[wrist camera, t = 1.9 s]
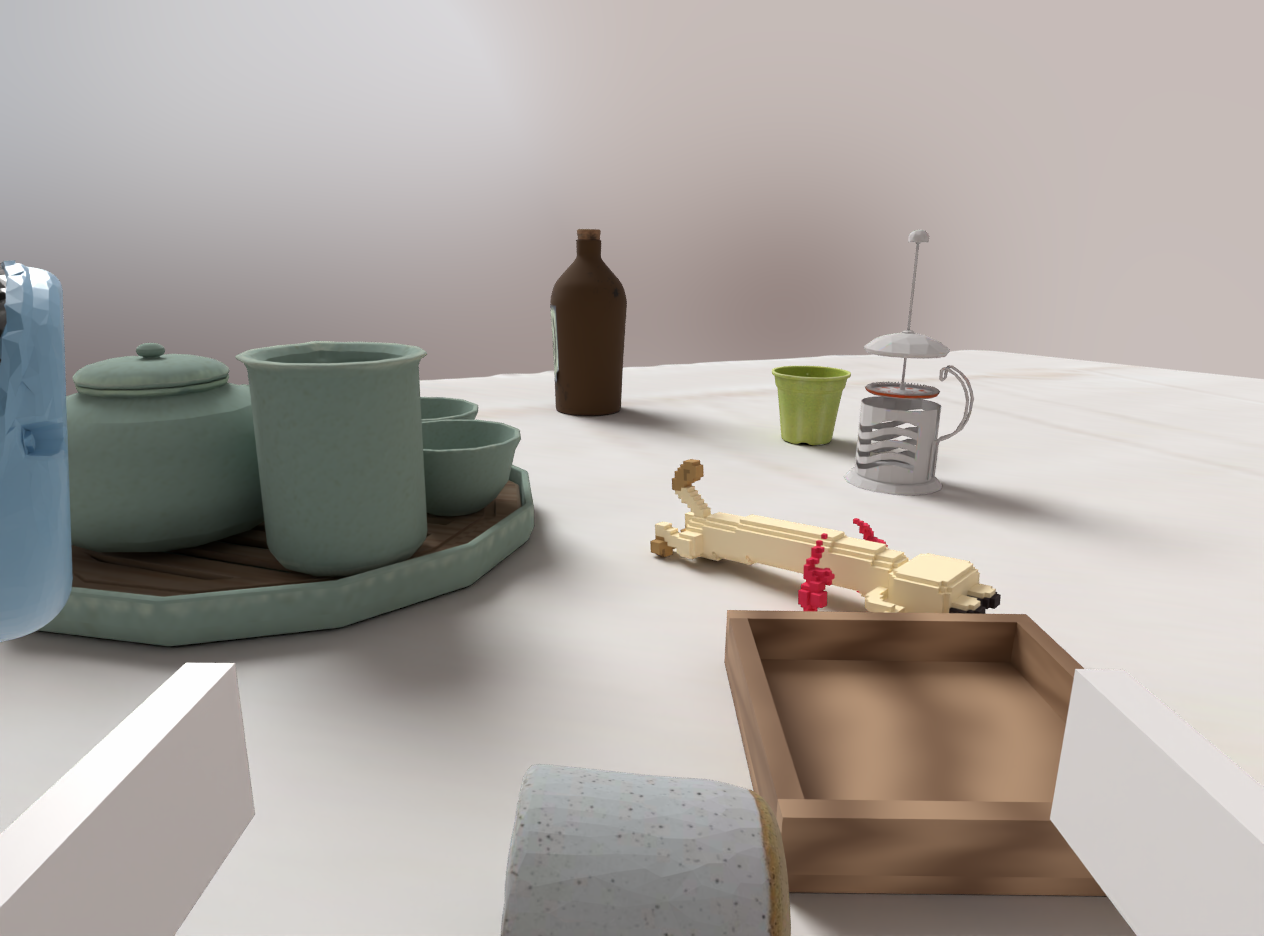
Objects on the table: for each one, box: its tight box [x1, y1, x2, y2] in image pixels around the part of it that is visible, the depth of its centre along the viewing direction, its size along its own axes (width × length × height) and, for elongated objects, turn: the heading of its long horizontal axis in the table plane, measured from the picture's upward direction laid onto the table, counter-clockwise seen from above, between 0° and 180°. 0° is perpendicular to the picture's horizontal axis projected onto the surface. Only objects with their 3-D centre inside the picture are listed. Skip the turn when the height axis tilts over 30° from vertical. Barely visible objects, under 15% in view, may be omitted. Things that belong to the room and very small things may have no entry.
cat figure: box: [650, 459, 1000, 614], centre depth 55 cm, size 10×9×25 cm
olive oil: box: [550, 229, 627, 416], centre depth 112 cm, size 11×11×25 cm
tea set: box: [39, 341, 534, 646], centre depth 63 cm, size 40×40×16 cm
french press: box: [844, 230, 974, 495], centre depth 79 cm, size 10×12×25 cm
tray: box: [725, 610, 1107, 896], centre depth 38 cm, size 17×17×3 cm
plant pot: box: [772, 366, 851, 445], centre depth 99 cm, size 9×9×9 cm
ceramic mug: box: [501, 764, 791, 936], centre depth 26 cm, size 11×8×8 cm
